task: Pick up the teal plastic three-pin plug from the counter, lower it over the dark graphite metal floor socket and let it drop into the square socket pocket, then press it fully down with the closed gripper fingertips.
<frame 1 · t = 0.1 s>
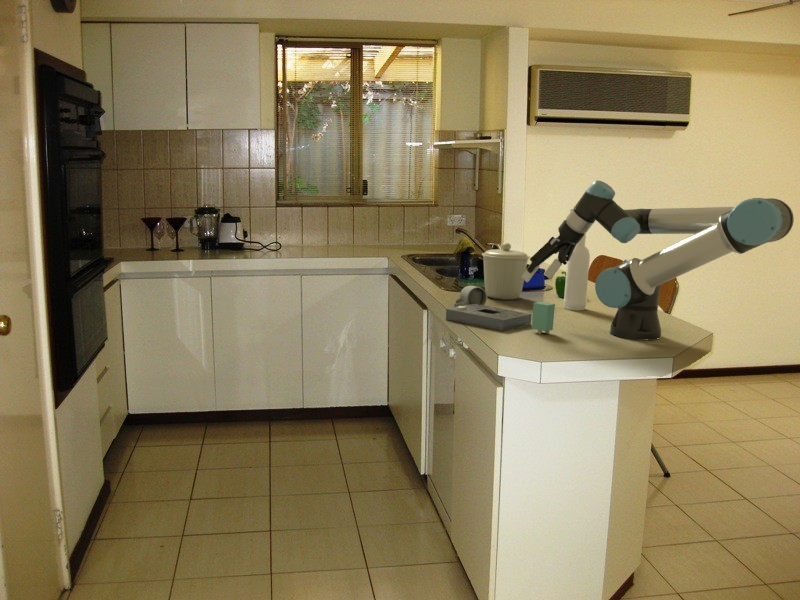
hand: (536, 277, 249), 15 cm above the worktop, tool tilted 35°, fingers open, 13 cm apart
canister: (502, 298, 301), on the worktop
bell pepper: (565, 297, 309), on the worktop
socket: (488, 322, 253), on the worktop
bottle: (574, 309, 285), on the worktop
plug: (541, 333, 240), on the worktop
ceramic mug: (468, 307, 279), on the worktop
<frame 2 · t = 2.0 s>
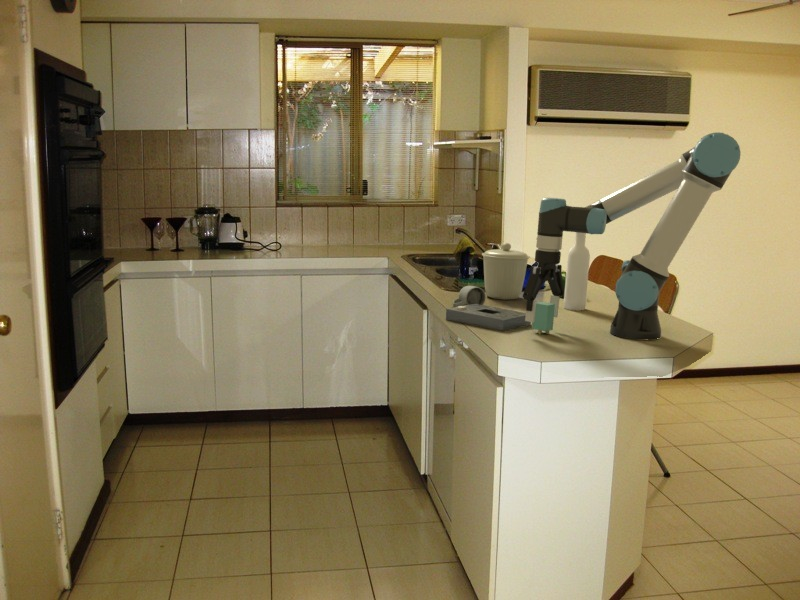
hand: (541, 319, 239), 4 cm above the worktop, tool pointing down, fingers open, 13 cm apart
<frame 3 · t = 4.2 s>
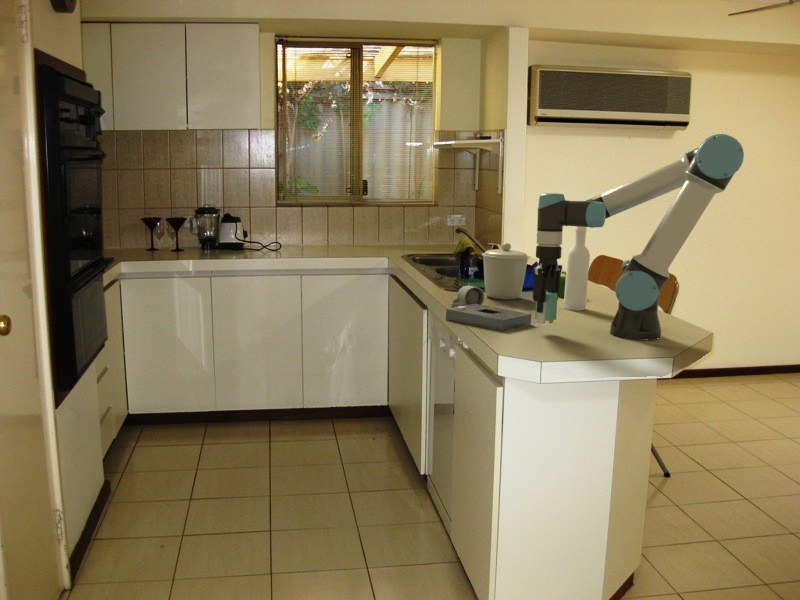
hand: (544, 321, 239), 4 cm above the worktop, tool pointing down, fingers closed on plug, 4 cm apart
plug: (545, 322, 239), point 3 cm above the worktop, touching gripper
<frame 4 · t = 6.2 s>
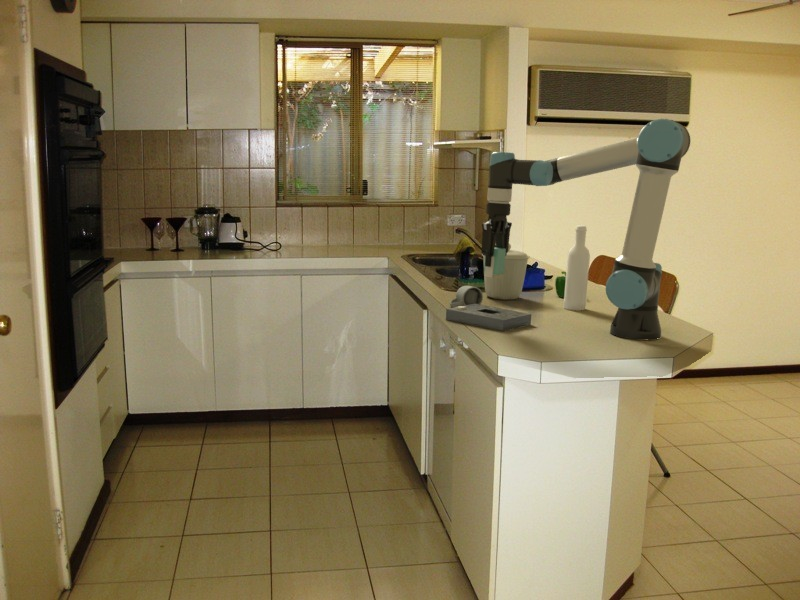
hand: (493, 276, 250), 15 cm above the worktop, tool pointing down, fingers closed on plug, 4 cm apart
plug: (493, 277, 250), point 15 cm above the worktop, touching gripper
when the fingers open (4 cm above the worktop, at t = 8.6 s): plug drops 2 cm, resting on socket.
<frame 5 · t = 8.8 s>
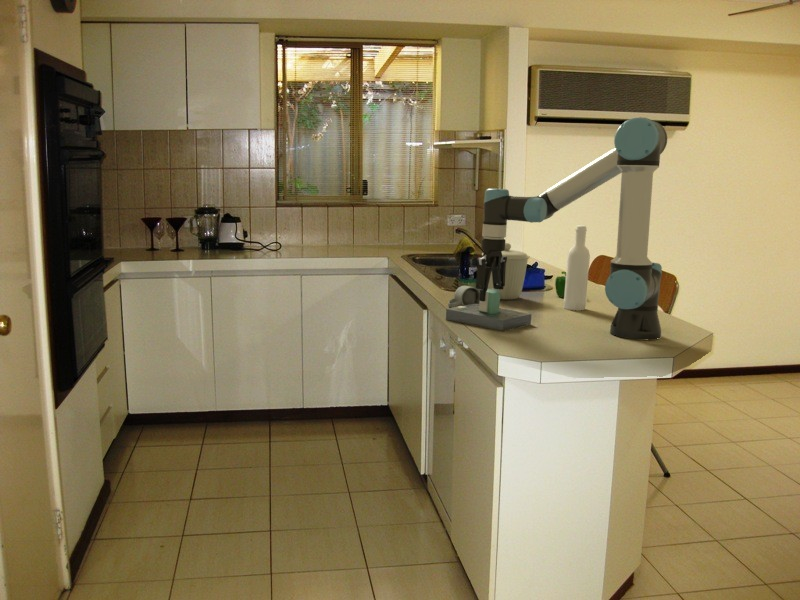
hand: (488, 309, 252), 4 cm above the worktop, tool pointing down, fingers open, 5 cm apart
plug: (488, 318, 253), point 1 cm above the worktop, touching gripper, socket
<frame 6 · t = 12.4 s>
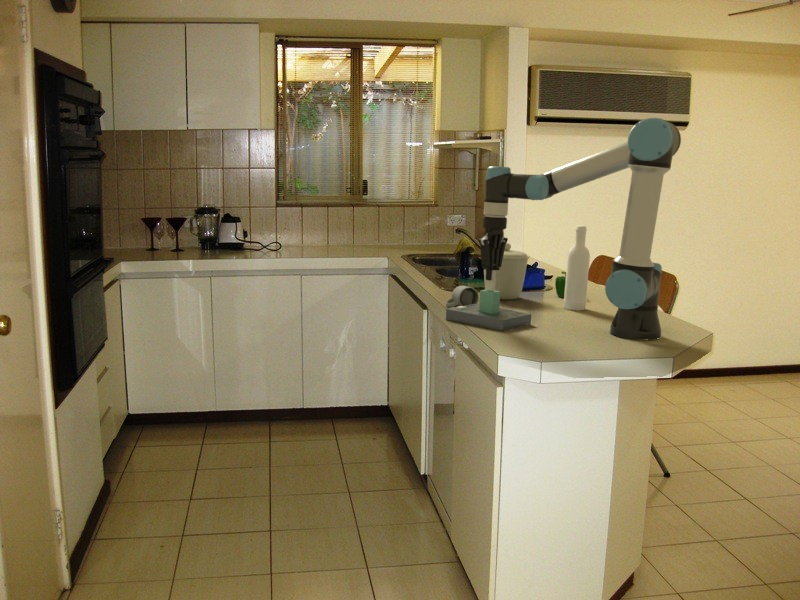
hand: (489, 290, 251), 10 cm above the worktop, tool pointing down, fingers closed
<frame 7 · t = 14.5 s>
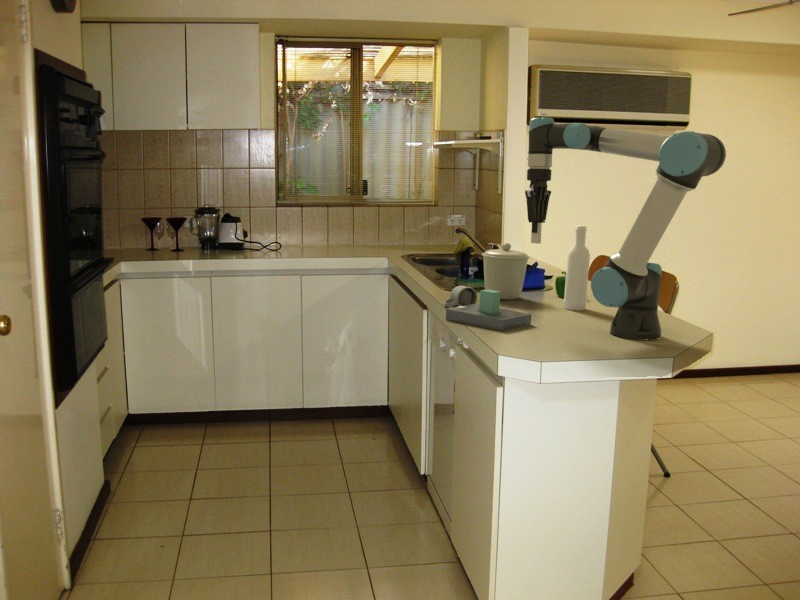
hand: (535, 243, 251), 26 cm above the worktop, tool pointing down, fingers closed
plug: (488, 319, 253), point 1 cm above the worktop, touching socket
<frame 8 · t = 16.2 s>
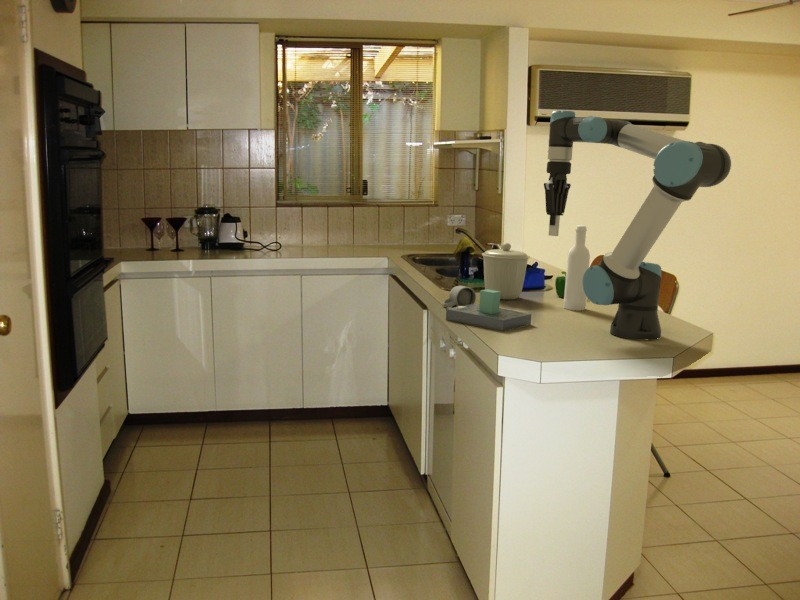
hand: (553, 235, 252), 28 cm above the worktop, tool pointing down, fingers closed
at the end: plug 0.3 cm off-centre on the socket, point 1.0 cm above the socket's base; plug tilted 0°; the gripper is holding nothing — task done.
